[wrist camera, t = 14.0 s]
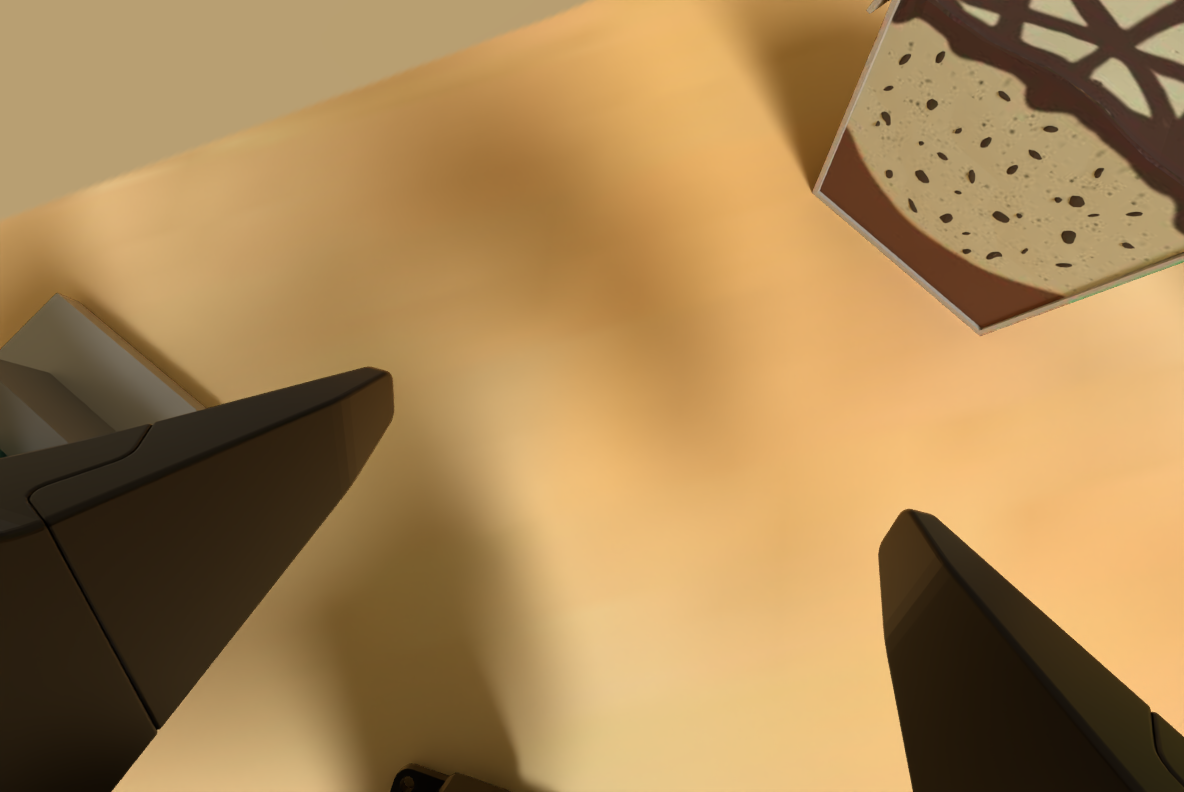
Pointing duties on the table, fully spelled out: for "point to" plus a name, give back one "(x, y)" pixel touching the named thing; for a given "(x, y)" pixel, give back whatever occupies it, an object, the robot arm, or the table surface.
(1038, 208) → the food container
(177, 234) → the table surface
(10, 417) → the socket
